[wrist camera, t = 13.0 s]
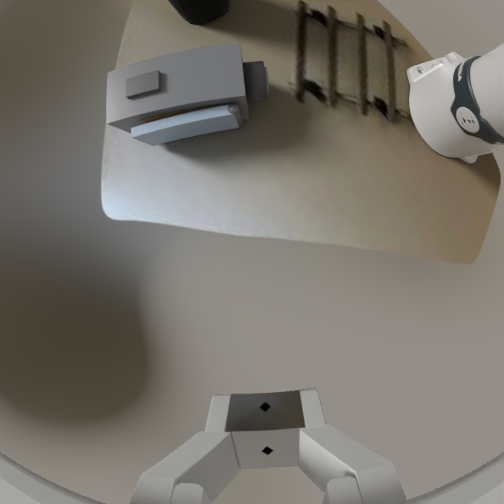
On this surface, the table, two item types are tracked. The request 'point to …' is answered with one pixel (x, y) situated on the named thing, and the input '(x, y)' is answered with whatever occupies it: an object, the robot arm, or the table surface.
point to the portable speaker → (200, 9)
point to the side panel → (189, 125)
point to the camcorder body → (184, 85)
